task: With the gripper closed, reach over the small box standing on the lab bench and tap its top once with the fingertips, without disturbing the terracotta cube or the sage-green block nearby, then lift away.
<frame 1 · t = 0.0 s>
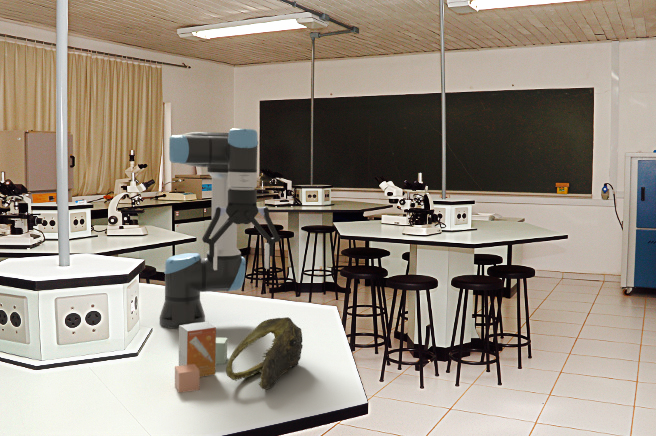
hand: (241, 268, 160), 28 cm above the worktop, tool pointing down, fingers open, 13 cm apart
sage block: (216, 360, 171), on the worktop
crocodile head: (270, 378, 159), on the worktop
terracotta cube: (186, 387, 151), on the worktop
small box: (197, 374, 160), on the worktop
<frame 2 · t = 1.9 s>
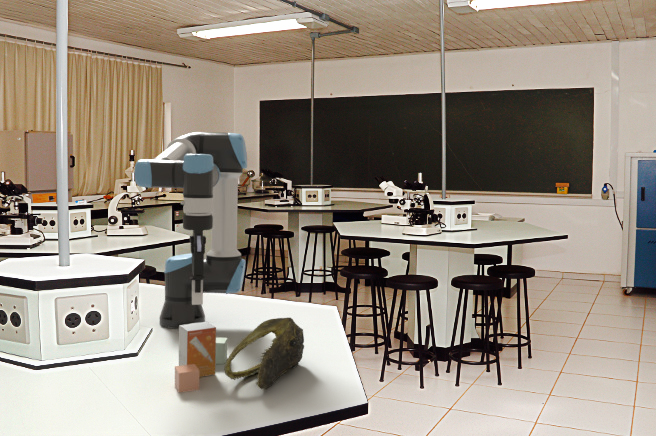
hand: (197, 303, 158), 19 cm above the worktop, tool pointing down, fingers closed
nothing on the worktop moved.
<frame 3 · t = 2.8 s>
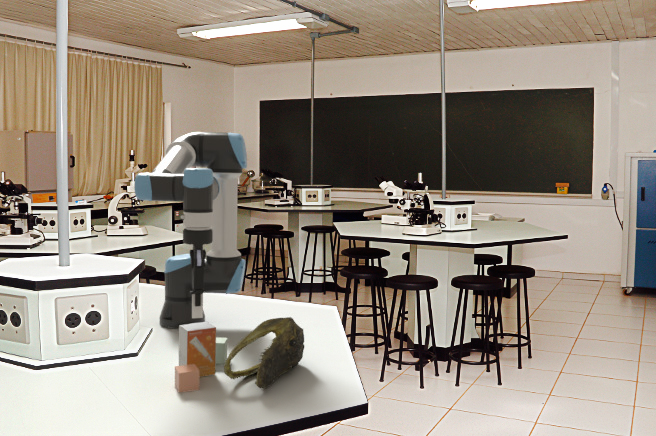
hand: (197, 317, 159), 15 cm above the worktop, tool pointing down, fingers closed
nothing on the worktop moved.
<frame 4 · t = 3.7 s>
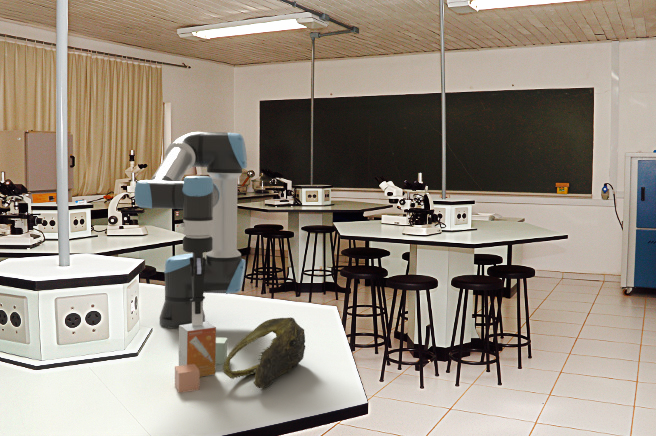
hand: (197, 324, 159), 13 cm above the worktop, tool pointing down, fingers closed
small box: (197, 374, 160), on the worktop, touching gripper
everything else where it was.
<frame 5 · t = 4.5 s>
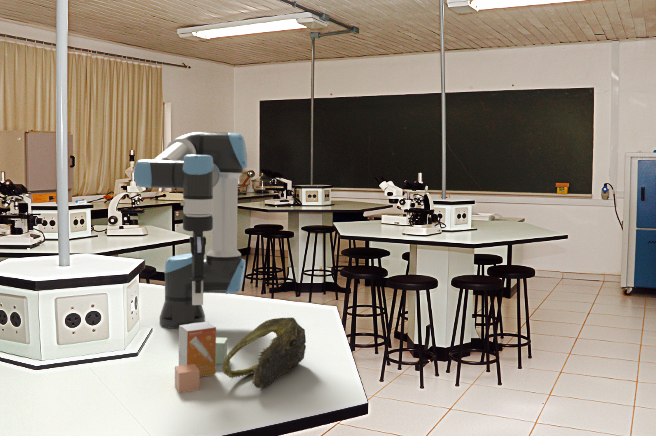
hand: (197, 304, 159), 19 cm above the worktop, tool pointing down, fingers closed
small box: (197, 374, 160), on the worktop
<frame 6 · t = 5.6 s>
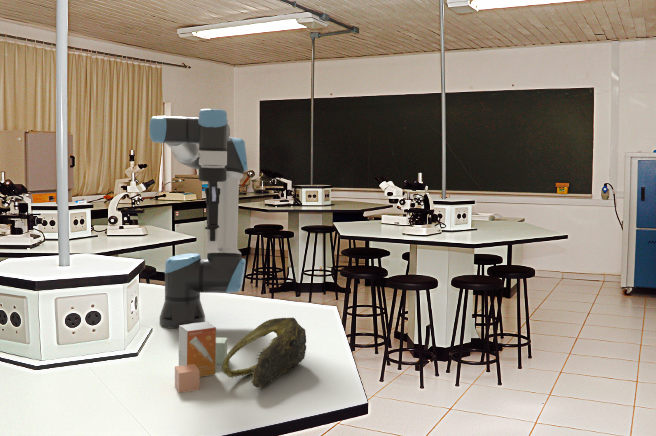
hand: (212, 251, 168), 31 cm above the worktop, tool pointing down, fingers closed
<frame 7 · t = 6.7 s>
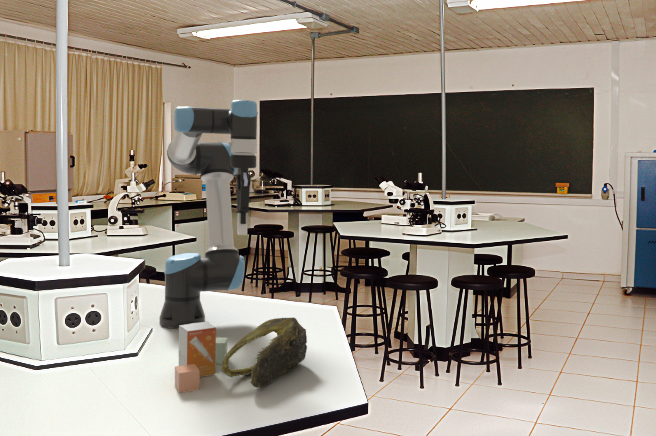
hand: (242, 234, 179), 34 cm above the worktop, tool pointing down, fingers closed
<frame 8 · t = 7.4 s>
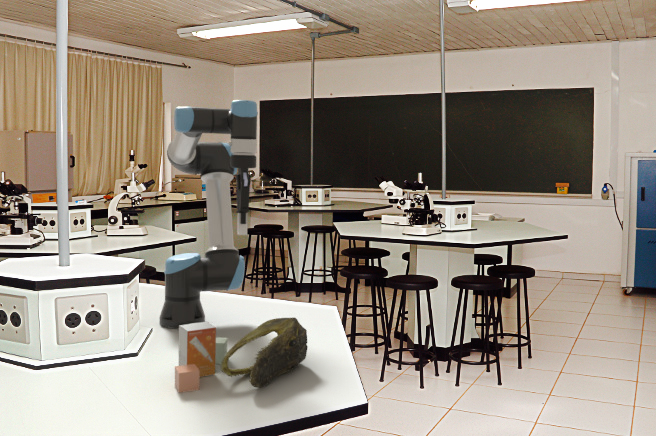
hand: (242, 234, 179), 34 cm above the worktop, tool pointing down, fingers closed
at the end: small box moved 0.2 cm from its start; small box tilted 0°; terracotta cube moved 0.1 cm from its start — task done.
